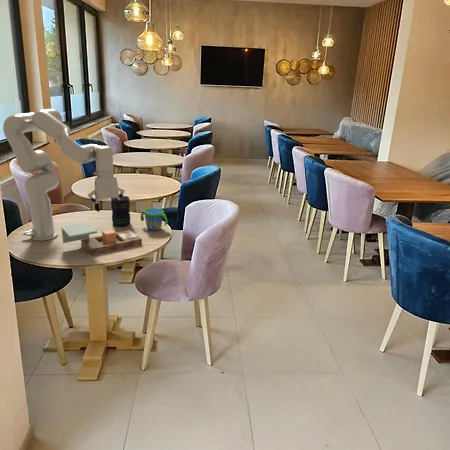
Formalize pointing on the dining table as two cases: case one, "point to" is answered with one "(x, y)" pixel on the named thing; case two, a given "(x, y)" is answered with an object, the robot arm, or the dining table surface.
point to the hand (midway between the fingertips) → (107, 209)
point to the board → (123, 241)
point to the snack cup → (154, 218)
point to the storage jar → (121, 212)
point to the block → (109, 237)
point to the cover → (77, 232)
